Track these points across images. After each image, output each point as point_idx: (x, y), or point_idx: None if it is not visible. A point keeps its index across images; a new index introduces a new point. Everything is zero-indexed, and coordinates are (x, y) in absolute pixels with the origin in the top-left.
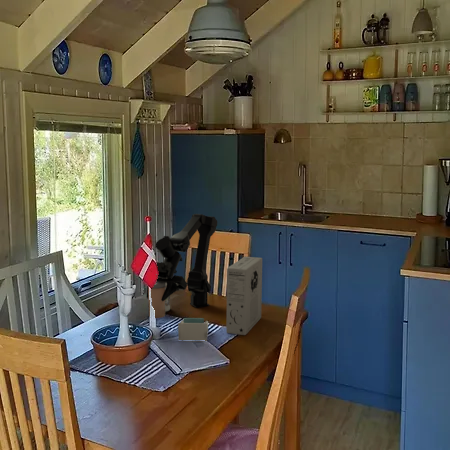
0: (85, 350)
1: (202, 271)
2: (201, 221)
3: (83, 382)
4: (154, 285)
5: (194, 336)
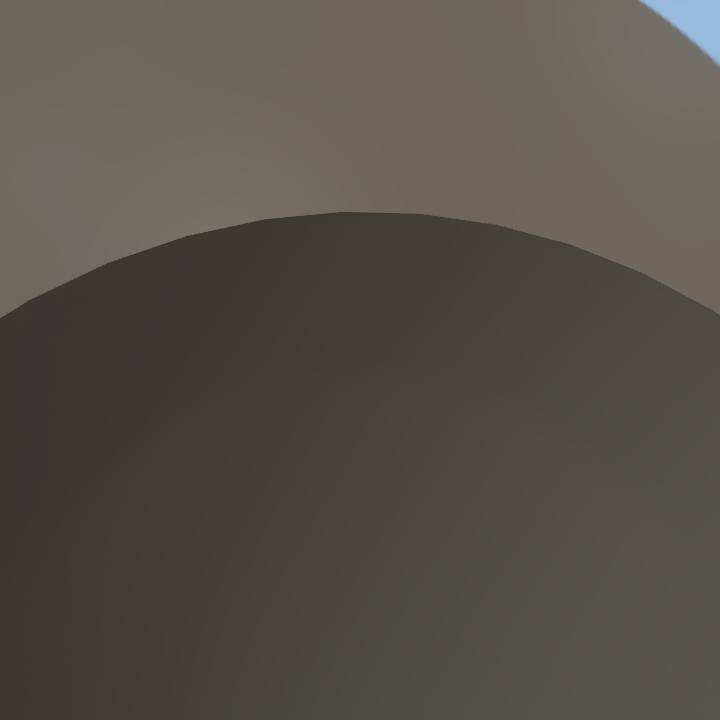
0: None
1: None
2: None
3: None
4: (164, 333)
5: None
